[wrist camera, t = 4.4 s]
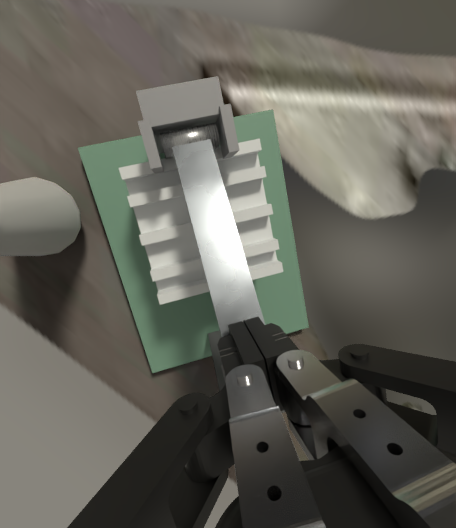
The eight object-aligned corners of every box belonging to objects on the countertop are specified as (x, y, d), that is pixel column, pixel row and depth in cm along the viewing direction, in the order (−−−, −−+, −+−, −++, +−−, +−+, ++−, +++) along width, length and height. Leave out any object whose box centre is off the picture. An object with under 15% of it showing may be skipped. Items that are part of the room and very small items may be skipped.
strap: (213, 133, 17) (213, 117, 16) (274, 339, 15) (281, 340, 13) (162, 144, 17) (157, 128, 15) (216, 356, 14) (216, 359, 13)
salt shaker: (-1, 196, 22) (-234, 187, 10) (66, 169, 23) (-74, 126, 10) (39, 261, 24) (-117, 325, 11) (102, 234, 24) (18, 266, 12)
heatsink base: (268, 111, 24) (321, 55, 15) (303, 322, 29) (359, 376, 20) (82, 148, 23) (15, 110, 13) (153, 366, 28) (140, 446, 18)
